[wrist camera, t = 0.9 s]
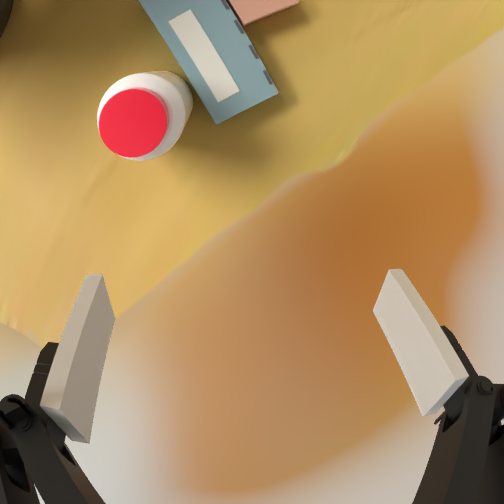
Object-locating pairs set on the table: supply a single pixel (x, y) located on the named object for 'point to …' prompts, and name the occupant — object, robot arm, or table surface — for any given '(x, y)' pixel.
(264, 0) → the pink labeled box
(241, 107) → the blue labeled box
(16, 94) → the table surface
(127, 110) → the pill bottle
